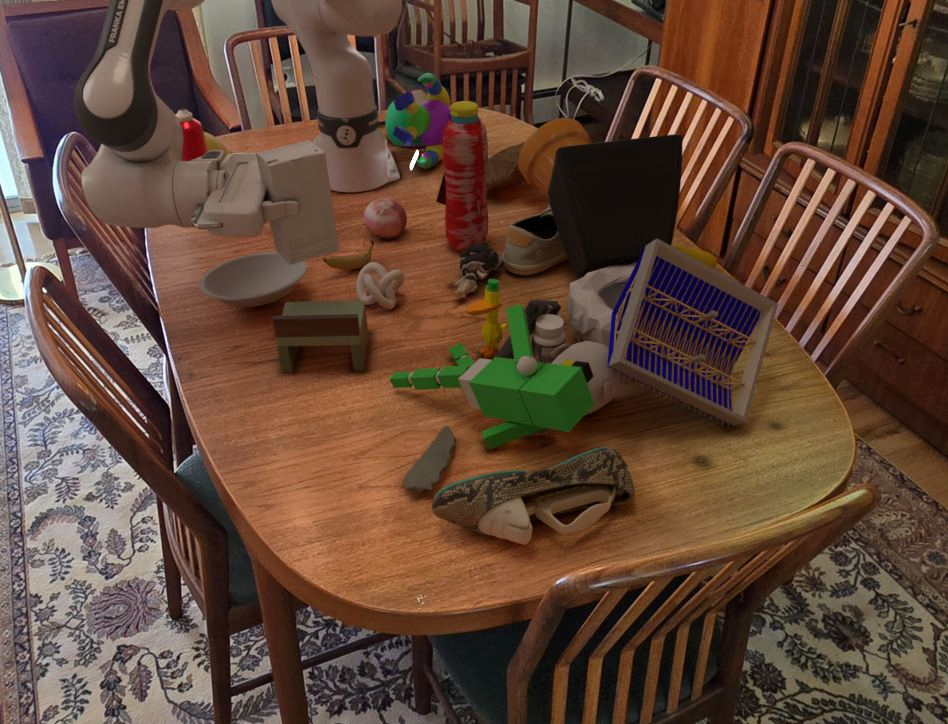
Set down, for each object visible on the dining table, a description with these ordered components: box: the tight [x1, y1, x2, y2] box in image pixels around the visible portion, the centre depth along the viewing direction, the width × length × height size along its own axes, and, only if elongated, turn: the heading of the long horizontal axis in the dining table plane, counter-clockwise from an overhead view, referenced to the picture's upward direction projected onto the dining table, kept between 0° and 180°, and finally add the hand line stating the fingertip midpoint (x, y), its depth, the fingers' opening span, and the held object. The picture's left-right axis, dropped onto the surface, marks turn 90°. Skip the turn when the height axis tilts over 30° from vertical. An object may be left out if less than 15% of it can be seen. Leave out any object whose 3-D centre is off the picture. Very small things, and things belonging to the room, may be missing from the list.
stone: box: [402, 425, 457, 494], centre depth 109 cm, size 13×2×5 cm
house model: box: [607, 239, 779, 427], centre depth 115 cm, size 19×20×7 cm
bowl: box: [566, 262, 637, 348], centre depth 127 cm, size 21×20×10 cm
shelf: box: [271, 300, 369, 373], centre depth 127 cm, size 10×12×9 cm
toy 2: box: [527, 341, 624, 437], centre depth 114 cm, size 10×15×10 cm, turn 131°
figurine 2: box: [452, 242, 504, 300], centre depth 144 cm, size 7×6×15 cm
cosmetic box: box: [255, 139, 340, 265], centre depth 121 cm, size 8×6×15 cm
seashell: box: [486, 141, 527, 193], centre depth 173 cm, size 19×9×15 cm
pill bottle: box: [531, 314, 566, 364], centre depth 123 cm, size 5×5×8 cm
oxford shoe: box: [501, 204, 569, 276], centre depth 152 cm, size 11×29×8 cm, turn 137°
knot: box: [355, 261, 405, 310], centre depth 139 cm, size 8×8×6 cm
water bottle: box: [435, 100, 489, 253], centre depth 148 cm, size 12×8×25 cm, turn 36°
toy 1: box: [389, 303, 594, 451], centre depth 113 cm, size 14×15×30 cm
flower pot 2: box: [547, 133, 683, 280], centre depth 135 cm, size 19×19×17 cm
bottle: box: [175, 108, 208, 161], centre depth 158 cm, size 5×5×20 cm
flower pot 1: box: [518, 117, 592, 198], centre depth 162 cm, size 14×14×13 cm
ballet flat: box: [431, 446, 636, 546], centre depth 100 cm, size 8×25×9 cm
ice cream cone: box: [408, 89, 428, 105], centre depth 205 cm, size 5×5×15 cm
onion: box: [363, 197, 408, 242], centre depth 157 cm, size 8×8×7 cm
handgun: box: [494, 298, 562, 359], centre depth 127 cm, size 19×2×12 cm
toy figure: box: [465, 278, 508, 359], centre depth 125 cm, size 7×4×12 cm, turn 120°
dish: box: [199, 251, 308, 308], centre depth 139 cm, size 18×14×5 cm
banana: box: [322, 239, 375, 271], centre depth 148 cm, size 10×2×4 cm, turn 128°
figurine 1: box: [385, 72, 452, 170], centre depth 181 cm, size 18×14×20 cm
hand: (303, 193), depth 120 cm, fingers closed on cosmetic box, 7 cm apart
